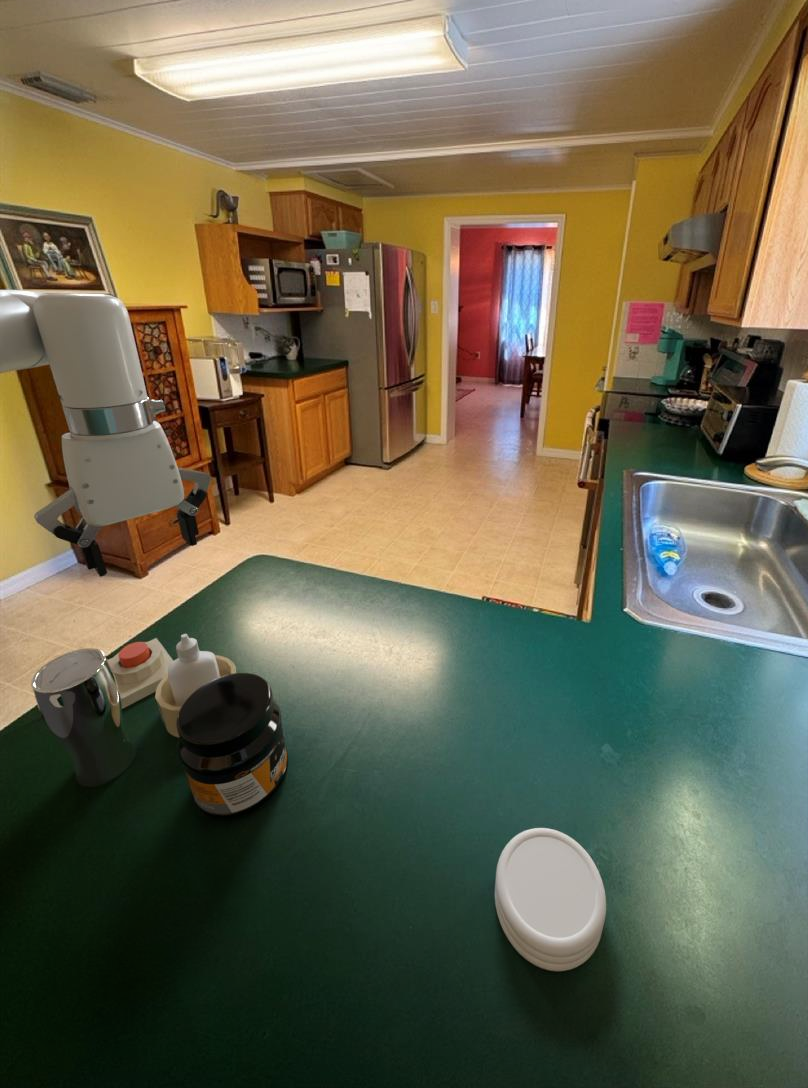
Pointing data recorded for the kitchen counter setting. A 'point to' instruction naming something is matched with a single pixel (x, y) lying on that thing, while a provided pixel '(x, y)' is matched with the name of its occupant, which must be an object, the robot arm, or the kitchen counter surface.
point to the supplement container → (232, 745)
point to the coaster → (550, 899)
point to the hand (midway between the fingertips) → (147, 555)
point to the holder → (167, 700)
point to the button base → (141, 674)
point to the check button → (134, 654)
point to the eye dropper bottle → (190, 669)
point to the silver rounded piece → (85, 714)
